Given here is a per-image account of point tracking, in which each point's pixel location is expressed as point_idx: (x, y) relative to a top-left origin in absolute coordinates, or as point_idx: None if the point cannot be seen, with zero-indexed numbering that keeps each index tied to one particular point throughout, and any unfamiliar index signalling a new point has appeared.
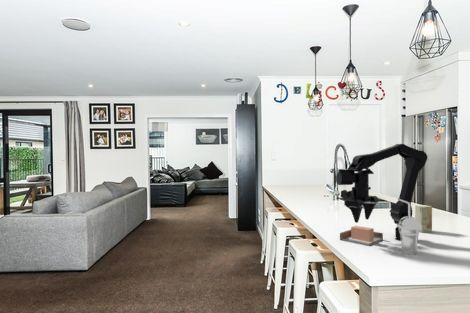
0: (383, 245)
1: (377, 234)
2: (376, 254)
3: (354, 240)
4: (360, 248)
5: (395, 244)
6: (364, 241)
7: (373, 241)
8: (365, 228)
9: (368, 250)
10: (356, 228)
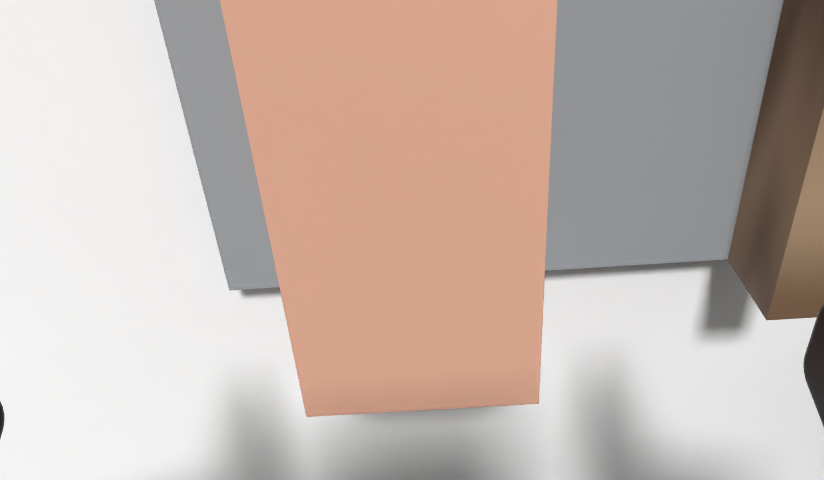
0: None
1: (770, 231)
2: (7, 473)
3: (201, 9)
4: (7, 259)
5: (617, 425)
6: None
7: None
8: (395, 303)
9: (44, 362)
10: (246, 116)
